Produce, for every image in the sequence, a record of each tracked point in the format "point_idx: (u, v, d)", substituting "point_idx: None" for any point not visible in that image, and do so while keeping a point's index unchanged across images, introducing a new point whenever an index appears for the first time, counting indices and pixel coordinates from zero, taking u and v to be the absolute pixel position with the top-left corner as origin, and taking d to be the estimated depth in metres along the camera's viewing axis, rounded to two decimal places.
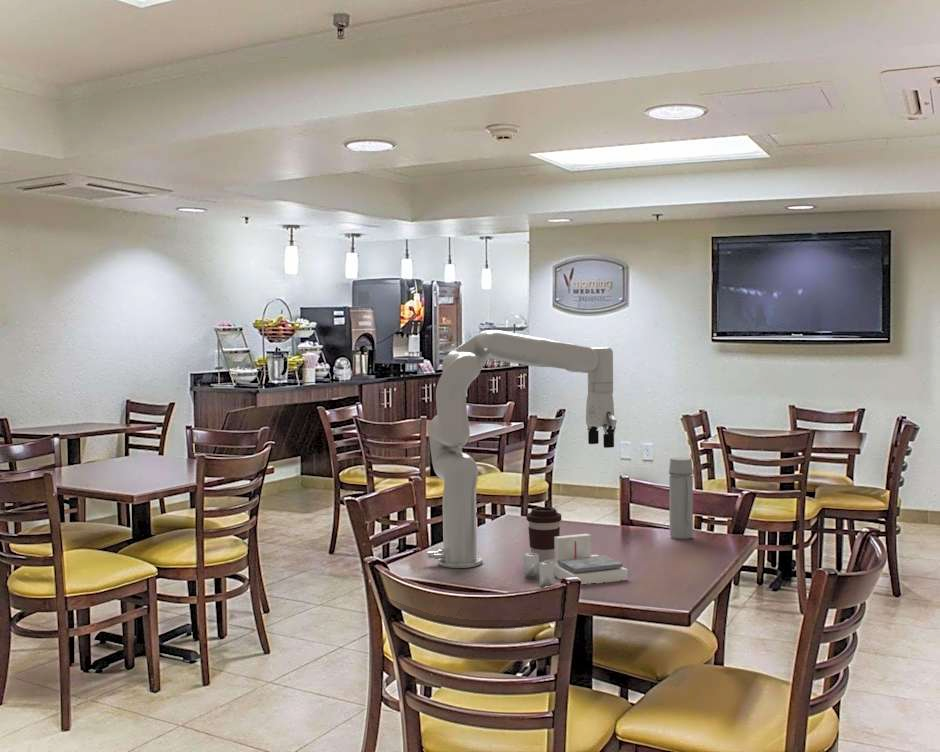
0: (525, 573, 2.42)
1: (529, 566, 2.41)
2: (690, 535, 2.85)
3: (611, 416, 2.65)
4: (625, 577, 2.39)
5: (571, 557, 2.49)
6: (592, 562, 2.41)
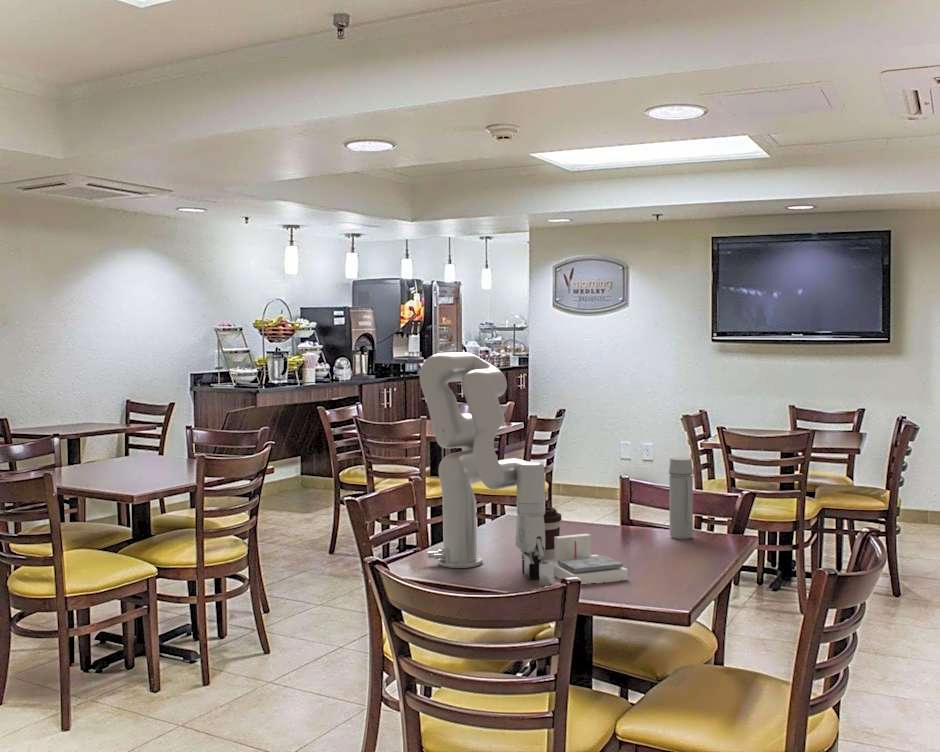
0: (525, 573, 2.42)
1: None
2: (690, 535, 2.85)
3: (540, 547, 2.37)
4: (625, 577, 2.39)
5: (571, 557, 2.49)
6: (592, 562, 2.41)
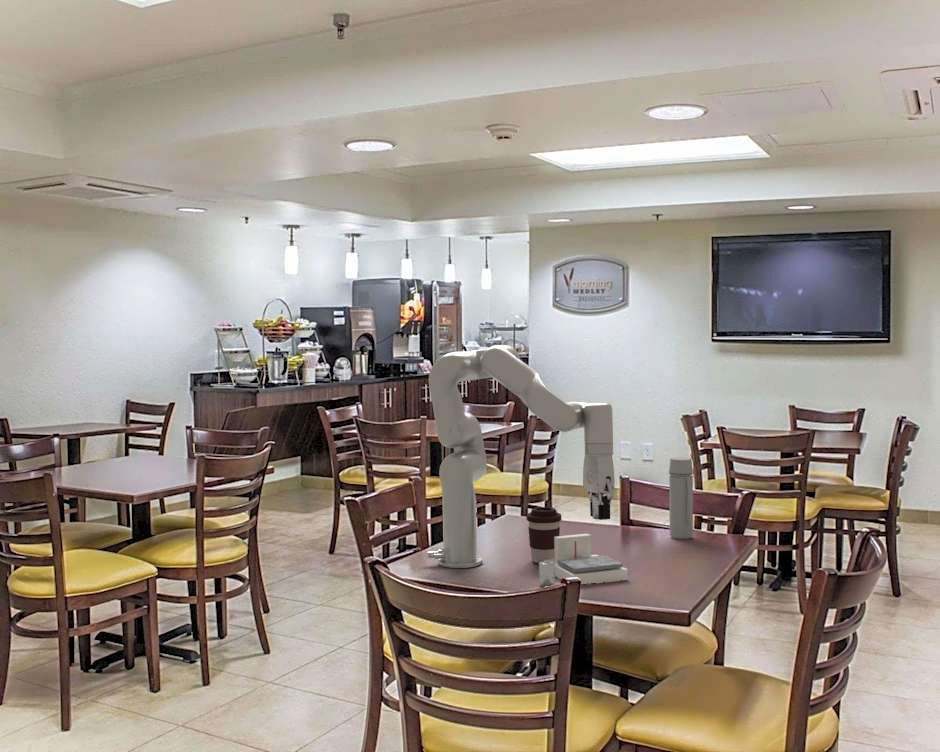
0: (594, 514, 2.41)
1: None
2: (690, 535, 2.85)
3: (609, 487, 2.36)
4: (625, 577, 2.39)
5: (571, 557, 2.49)
6: (592, 562, 2.41)
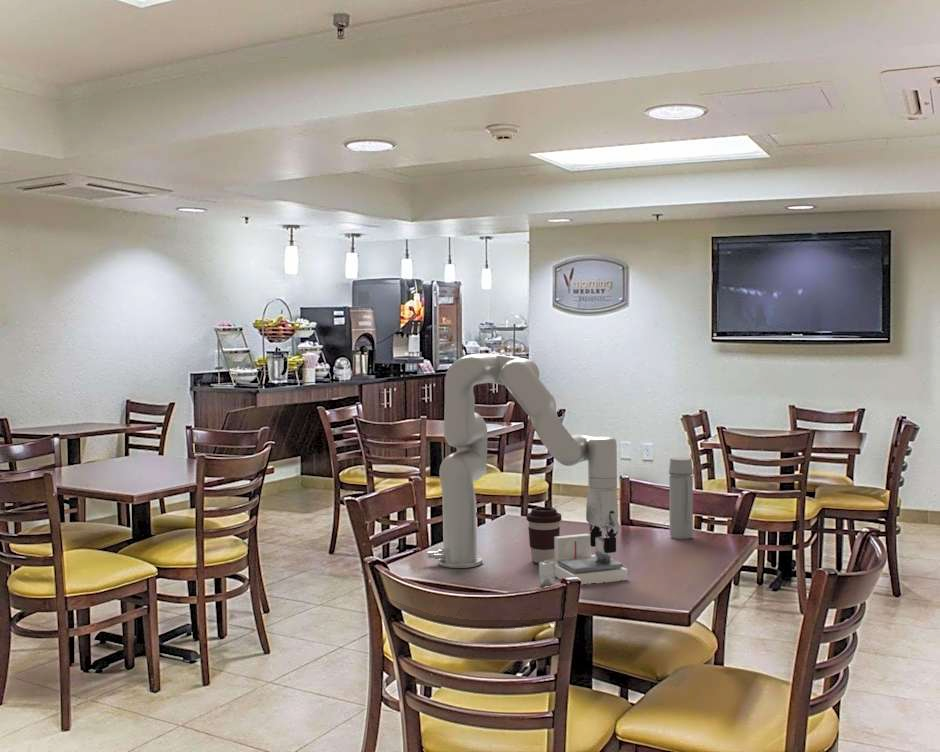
0: (597, 557, 2.42)
1: (601, 549, 2.41)
2: (690, 535, 2.85)
3: (614, 519, 2.36)
4: (625, 577, 2.39)
5: (571, 557, 2.49)
6: (592, 562, 2.41)
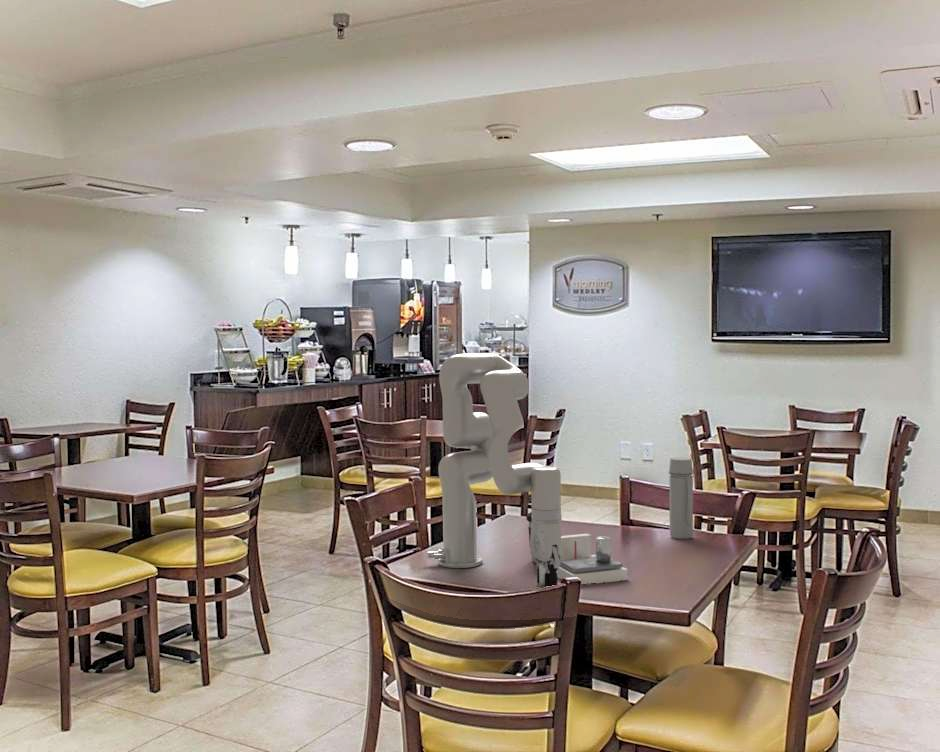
0: (598, 556, 2.42)
1: (602, 549, 2.41)
2: (690, 535, 2.85)
3: (556, 556, 2.28)
4: (625, 577, 2.39)
5: (571, 557, 2.49)
6: (592, 562, 2.41)
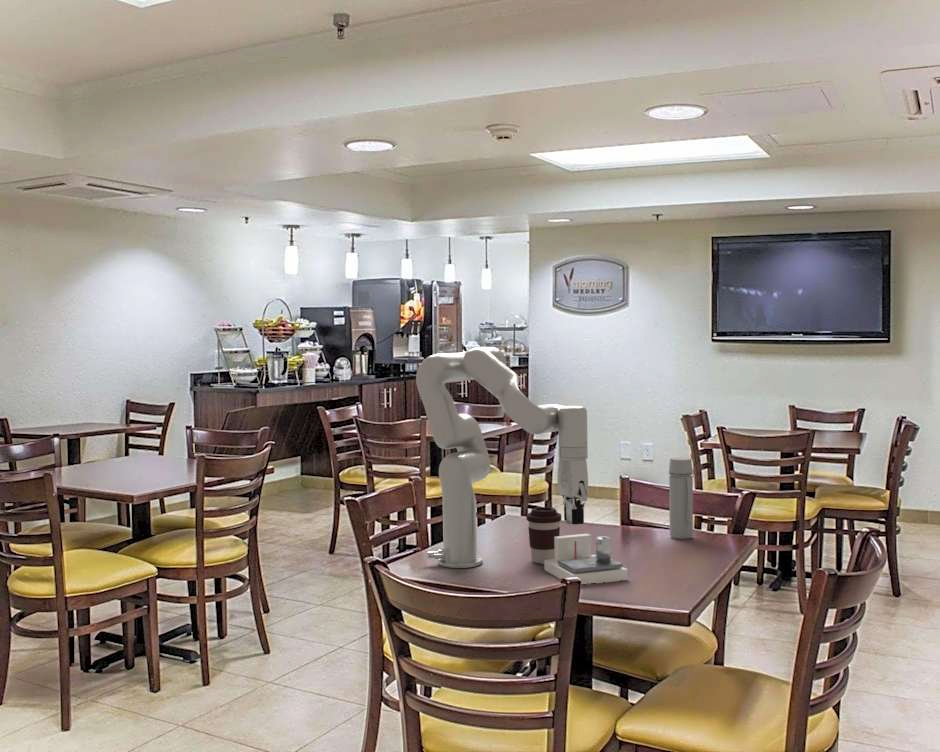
0: (598, 557, 2.41)
1: (603, 550, 2.41)
2: (690, 535, 2.85)
3: (583, 491, 2.33)
4: (625, 577, 2.39)
5: (571, 557, 2.49)
6: (592, 562, 2.41)
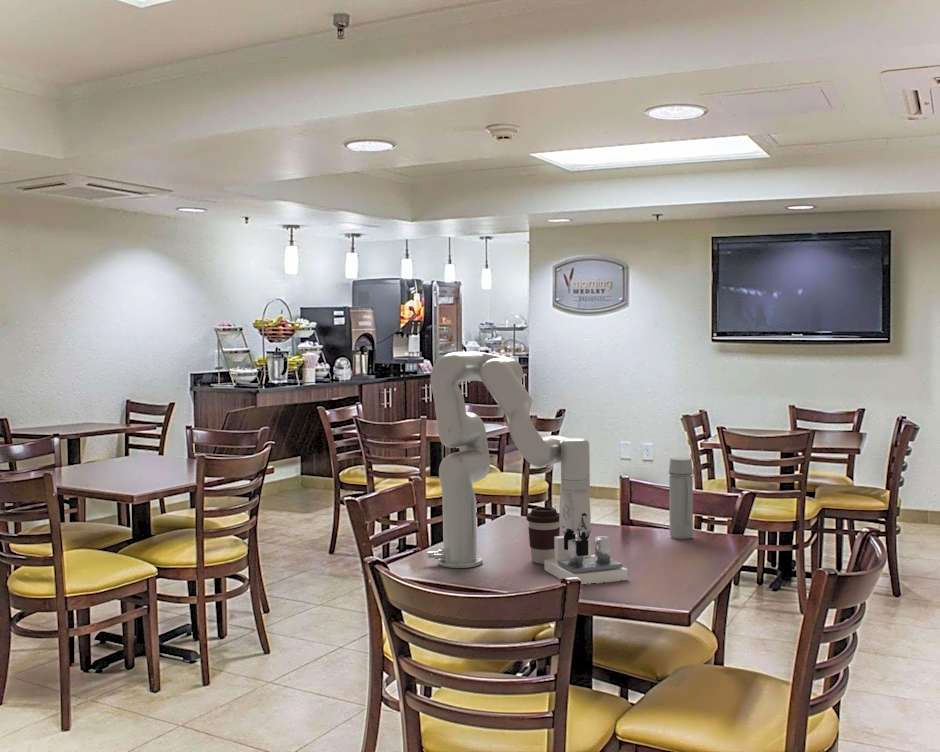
0: (599, 557, 2.41)
1: (603, 550, 2.41)
2: (690, 535, 2.85)
3: (586, 522, 2.34)
4: (625, 577, 2.39)
5: None
6: (592, 562, 2.41)
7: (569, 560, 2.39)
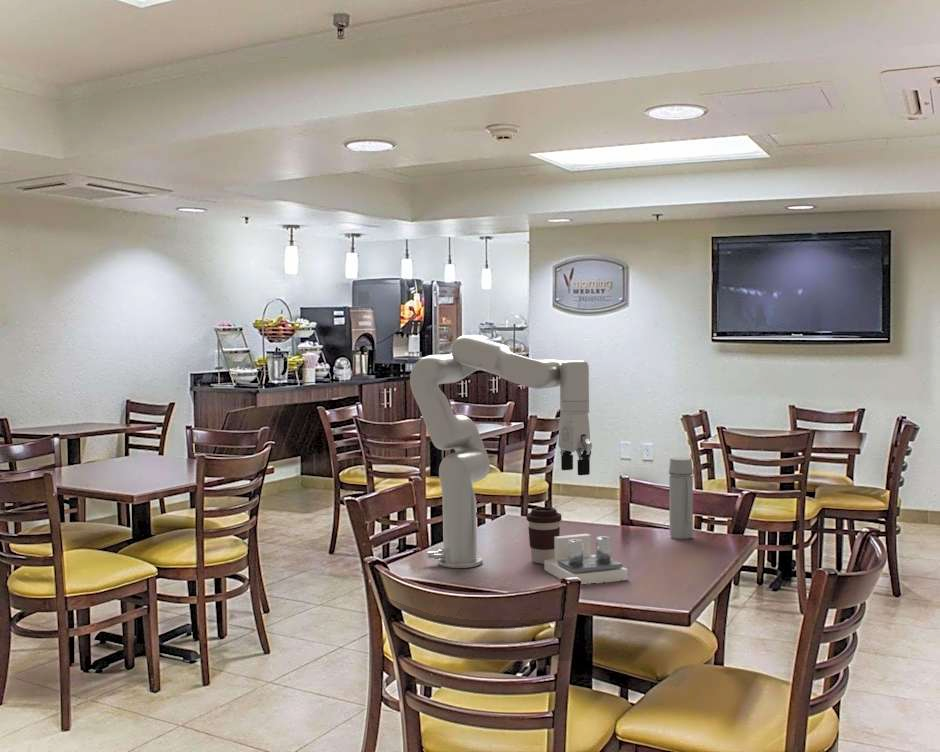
0: (601, 557, 2.41)
1: (606, 550, 2.41)
2: (690, 535, 2.85)
3: (586, 439, 2.32)
4: (625, 577, 2.39)
5: None
6: (592, 562, 2.41)
7: (569, 560, 2.39)
